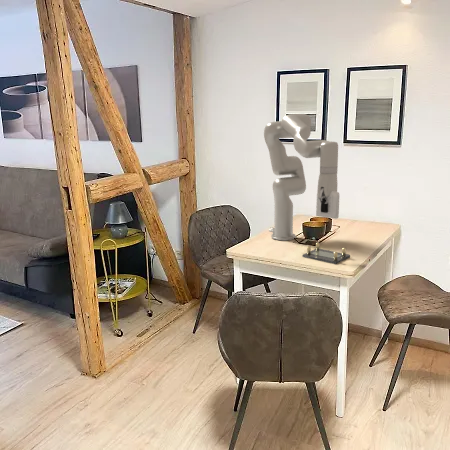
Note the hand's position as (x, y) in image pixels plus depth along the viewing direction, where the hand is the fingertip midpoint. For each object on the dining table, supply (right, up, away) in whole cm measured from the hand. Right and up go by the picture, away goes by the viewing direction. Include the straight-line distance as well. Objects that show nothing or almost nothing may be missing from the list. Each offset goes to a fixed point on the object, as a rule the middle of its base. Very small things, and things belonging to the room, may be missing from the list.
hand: (327, 210), depth 210 cm
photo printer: (0, -3, +1) cm, 3 cm away
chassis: (0, -21, +5) cm, 21 cm away
